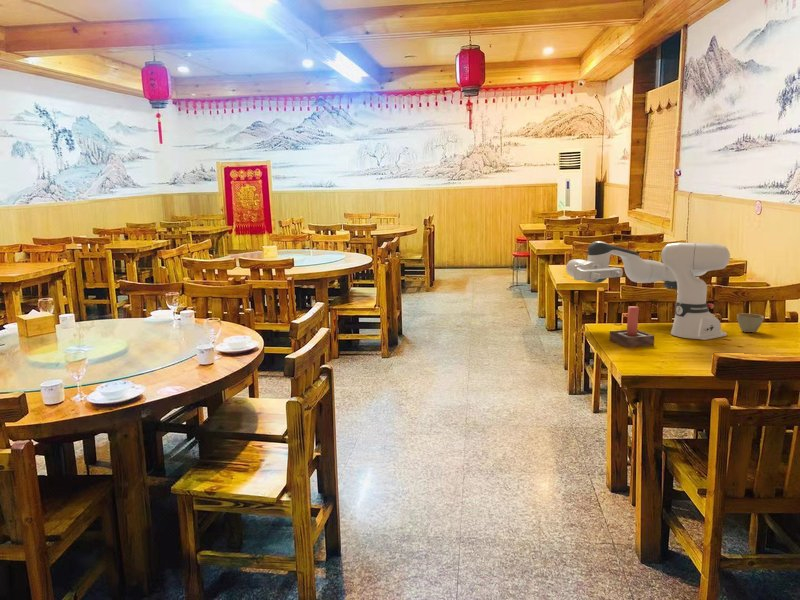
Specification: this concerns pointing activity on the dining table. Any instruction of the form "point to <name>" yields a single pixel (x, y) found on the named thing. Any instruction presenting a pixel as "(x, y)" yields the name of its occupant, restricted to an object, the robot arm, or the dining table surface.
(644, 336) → the box
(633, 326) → the peg
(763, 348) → the dining table surface
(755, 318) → the flower pot
